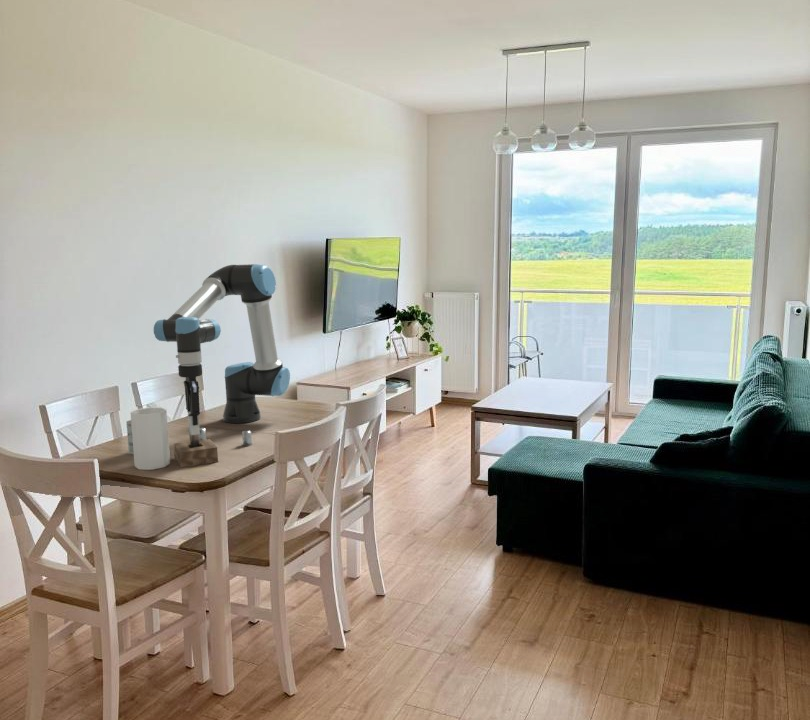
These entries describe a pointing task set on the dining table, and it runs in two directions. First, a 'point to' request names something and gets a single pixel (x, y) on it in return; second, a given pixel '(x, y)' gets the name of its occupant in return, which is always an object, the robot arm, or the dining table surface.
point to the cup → (150, 438)
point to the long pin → (193, 436)
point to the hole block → (196, 453)
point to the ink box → (130, 437)
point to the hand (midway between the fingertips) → (194, 432)
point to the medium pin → (202, 433)
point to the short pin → (247, 438)
